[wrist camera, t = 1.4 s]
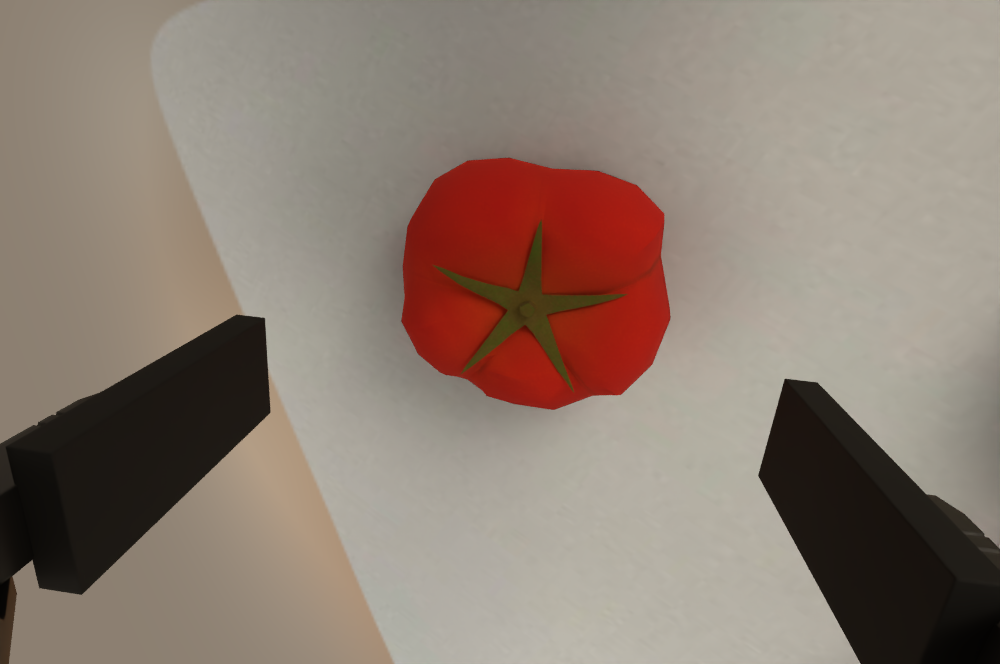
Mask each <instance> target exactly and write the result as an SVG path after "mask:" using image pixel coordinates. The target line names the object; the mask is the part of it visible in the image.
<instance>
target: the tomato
mask: <svg viewBox="0 0 1000 664" xmlns="http://www.w3.org/2000/svg"><path fill="white" fill-rule="evenodd" d="M663 230H664V213H663V212H662V211H661V210H660V209H659V208H658V207H657V206H656V205H655V204H654V203H653V202H652V200H651V199H650V198H649V197H648V196H647V195H646V194H645V193H644V192H643V191H642V190H641V189H640V188H639V187H638V186H637V185H634V184H632V183H629V182H626V181H624V180H621V179H618V178H616V177H613V176H610V175H608V174H605V173H602V172H600V171H591V170H570V169H552V168H548V167H544V166H540V165H536V164H532V163H528V162H524V161H520V160H516V159H512V158H498V159H484V160H469V161H466V162H464V163H463V164H461V165H459V166H457V167H456V168H454V169H452V170H450V171H449V172H447V173H445V174H443V175H442V176H440V177H438V178H436V179H435V180H434V181H433V183H432V185H431V186H430V188H429V190H428V191H427V193H426V195H425V196H424V198H423V200H422V201H421V203H420V205H419V206H418V208H417V210H416V211H415V213H414V215H413V216H412V218H411V220H410V222H409V225H408V227H407V235H406V243H405V252H404V260H403V278H404V294H405V299H404V306H403V313H402V320H401V322H402V324H403V326H404V328H405V329H406V331H407V333H408V335H409V337H410V339H411V341H412V343H413V345H414V347H415V349H416V351H417V353H418V354H419V355H420V356H421V357H422V358H423V359H425V360H426V361H427V362H428V363H429V364H431V365H432V366H433V367H434V368H435V369H437V370H438V371H439V372H440V373H443V374H445V375H450V376H457V377H461V378H464V379H468V380H469V381H470V382H472V383H473V384H474V385H476V386H477V387H478V388H480V389H481V390H482V391H483V392H484V393H485V394H486V396H489V397H492V398H496V399H499V400H503V401H506V402H510V403H513V404H518V405H525V406H531V407H538V408H544V409H551V410H555V409H558V408H560V407H563V406H566V405H568V404H571V403H574V402H576V401H579V400H582V399H585V398H587V397H590V396H594V395H621V394H622V393H623V392H624V391H626V390H627V389H628V388H629V387H630V386H631V385H632V384H633V383H634V382H635V381H636V380H637V379H638V378H639V377H640V376H641V375H642V374H643V373H644V372H645V371H646V370H647V369H648V368H649V367H650V366H651V365H652V364H653V361H654V359H655V356H656V354H657V351H658V349H659V346H660V344H661V341H662V339H663V336H664V334H665V331H666V329H667V326H668V324H669V321H670V307H669V301H668V295H667V289H666V283H665V277H664V271H663V265H662V260H661V249H662V239H663Z"/></svg>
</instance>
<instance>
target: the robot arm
mask: <svg viewBox="0 0 1000 664" xmlns="http://www.w3.org/2000/svg"><path fill="white" fill-rule="evenodd" d="M269 413H270V397H269V380H268V363H267V346H266V330H265V318H260V317H252V316H243V315H235V316H233V317H232V318H230V319H228V320H227V321H225V322H223V323H221V324H219V325H218V326H216V327H214V328H212V329H211V330H209V331H207V332H205V333H204V334H202V335H200V336H198V337H197V338H195V339H193V340H192V341H190V342H188V343H186V344H184V345H183V346H181V347H179V348H177V349H176V350H174V351H172V352H170V353H169V354H167V355H166V356H163V357H162V358H160V359H158V360H156V361H155V362H153V363H151V364H149V365H148V366H146V367H144V368H142V369H141V370H139V371H137V372H135V373H134V374H132V375H130V376H128V377H127V378H125V379H123V380H121V381H120V382H118V383H116V384H114V385H113V386H111V387H109V388H108V389H106V390H104V391H102V392H100V393H97V394H95V395H92V396H89V397H86V398H83V399H80V400H77V401H76V402H74V403H72V404H71V405H69V406H67V407H65V408H63V409H61V410H60V411H58V412H57V413H56V415H51V416H49V417H47V418H45V419H44V420H42V421H40V422H38V425H37V426H35V425H33V426H31V427H29V428H28V429H26V430H24V431H22V432H20V433H19V434H17V435H15V436H13V437H11V438H10V439H8V440H6V441H4V442H3V443H1V444H0V664H9V656H10V647H11V638H12V630H13V621H14V612H15V603H16V595H17V593H16V589H15V585H14V581H13V577H12V576H13V575H14V574H15V573H17V572H18V571H19V570H20V569H21V568H23V567H24V566H25V565H26V564H28V563H29V562H30V561H31V560H33V564H34V568H35V572H36V576H37V580H38V584H39V588H42V589H49V590H55V591H61V592H68V593H75V594H81V595H82V594H83V593H84V592H85V591H86V590H87V589H88V588H89V587H90V586H91V585H92V584H93V583H94V582H95V581H96V580H97V579H98V578H100V577H101V576H102V575H103V573H105V572H106V570H108V569H109V568H110V567H111V566H112V565H113V564H114V563H115V562H116V561H117V560H118V559H119V558H120V557H121V556H122V555H123V554H124V553H125V552H126V551H127V550H128V549H130V548H131V547H132V546H133V545H134V544H135V543H136V542H137V541H138V540H139V539H140V538H141V537H142V536H143V535H144V534H145V533H146V532H147V531H148V530H149V529H150V528H151V527H152V526H153V525H154V524H155V523H157V522H158V520H160V519H161V518H162V517H163V516H164V515H165V514H166V513H167V512H168V511H169V510H170V509H171V508H172V507H173V506H174V505H175V504H176V503H177V502H178V501H179V500H180V499H181V498H182V497H183V496H185V494H186V493H188V492H189V491H190V490H191V489H192V488H193V487H194V486H195V485H196V484H197V483H198V482H199V481H200V480H201V479H202V478H203V477H204V476H205V475H206V474H207V473H208V472H209V471H210V470H211V469H212V468H213V467H215V466H216V465H217V464H218V463H219V462H220V461H221V460H222V459H223V458H224V457H225V456H226V455H227V454H228V453H229V452H230V451H231V450H232V449H233V448H234V447H235V446H236V445H237V444H238V443H239V442H240V441H241V440H243V439H244V438H245V437H246V436H247V435H248V433H250V432H251V431H252V430H253V429H254V428H255V427H256V426H257V425H258V424H259V423H260V422H261V421H262V420H263V419H264V418H265V417H266V416H267V415H268V414H269ZM758 476H759V478H760V480H761V482H762V483H763V485H764V487H765V489H766V491H767V493H768V494H769V496H770V498H771V500H772V502H773V504H774V505H775V507H776V509H777V511H778V513H779V515H780V516H781V518H782V520H783V522H784V524H785V526H786V528H787V529H788V531H789V533H790V535H791V537H792V539H793V540H794V542H795V544H796V546H797V548H798V550H799V551H800V553H801V555H802V557H803V559H804V561H805V562H806V564H807V566H808V568H809V570H810V572H811V573H812V575H813V577H814V579H815V581H816V583H817V584H818V586H819V588H820V590H821V592H822V594H823V595H824V597H825V599H826V601H827V603H828V605H829V606H830V608H831V610H832V612H833V614H834V616H835V617H836V619H837V621H838V623H839V625H840V627H841V628H842V630H843V632H844V634H845V636H846V638H847V639H848V641H849V643H850V645H851V647H852V649H853V650H854V652H855V654H856V656H857V658H858V660H859V661H860V663H861V664H1000V549H999V548H998V547H997V546H996V545H995V544H994V543H993V542H992V541H991V540H990V539H989V538H986V537H984V533H983V532H982V531H981V530H980V529H979V528H978V527H977V526H976V525H975V524H974V523H973V522H972V521H971V520H970V519H969V518H968V517H967V516H966V515H965V514H963V513H962V512H960V511H959V510H957V509H956V508H954V507H952V506H951V505H949V504H948V503H946V502H945V501H943V500H942V499H940V498H938V497H937V496H935V495H927V494H925V493H924V492H923V491H922V490H921V489H920V487H919V486H918V485H917V484H916V483H915V482H914V481H913V480H912V479H911V478H910V477H909V476H908V475H907V474H906V473H905V472H904V471H903V470H902V469H901V468H900V467H899V466H898V465H897V464H896V463H895V462H894V461H893V460H892V459H891V458H890V457H889V456H888V455H887V454H886V453H885V452H884V450H883V449H882V448H881V447H880V446H879V445H878V444H877V443H876V442H875V441H874V440H873V439H872V438H871V437H870V436H869V435H868V434H867V433H866V432H865V431H864V430H863V429H862V428H861V427H860V426H859V425H858V424H857V423H856V422H855V421H854V420H853V419H852V418H851V417H850V416H849V415H848V414H847V412H846V411H845V410H844V409H843V408H842V407H841V406H840V405H839V404H838V403H837V402H836V401H835V400H834V399H833V398H832V397H831V396H830V395H829V394H828V393H827V392H826V391H825V390H824V389H823V388H822V387H821V386H820V385H819V384H818V383H816V382H808V381H799V380H791V379H785V380H784V384H783V387H782V391H781V395H780V398H779V402H778V406H777V409H776V413H775V417H774V420H773V424H772V427H771V431H770V435H769V438H768V442H767V446H766V449H765V453H764V457H763V460H762V464H761V468H760V471H759V475H758Z"/></svg>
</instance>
